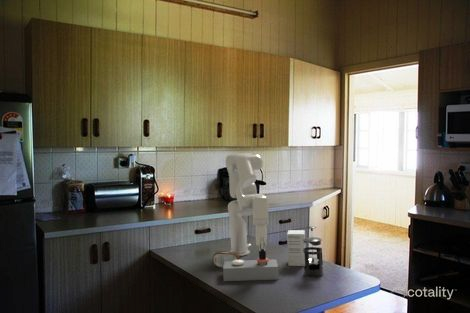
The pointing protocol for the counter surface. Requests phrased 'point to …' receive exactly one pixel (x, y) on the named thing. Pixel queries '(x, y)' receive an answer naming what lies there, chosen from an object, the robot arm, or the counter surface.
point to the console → (250, 271)
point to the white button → (237, 262)
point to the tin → (224, 257)
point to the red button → (262, 261)
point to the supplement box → (296, 247)
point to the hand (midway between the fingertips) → (262, 258)
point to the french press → (313, 269)
